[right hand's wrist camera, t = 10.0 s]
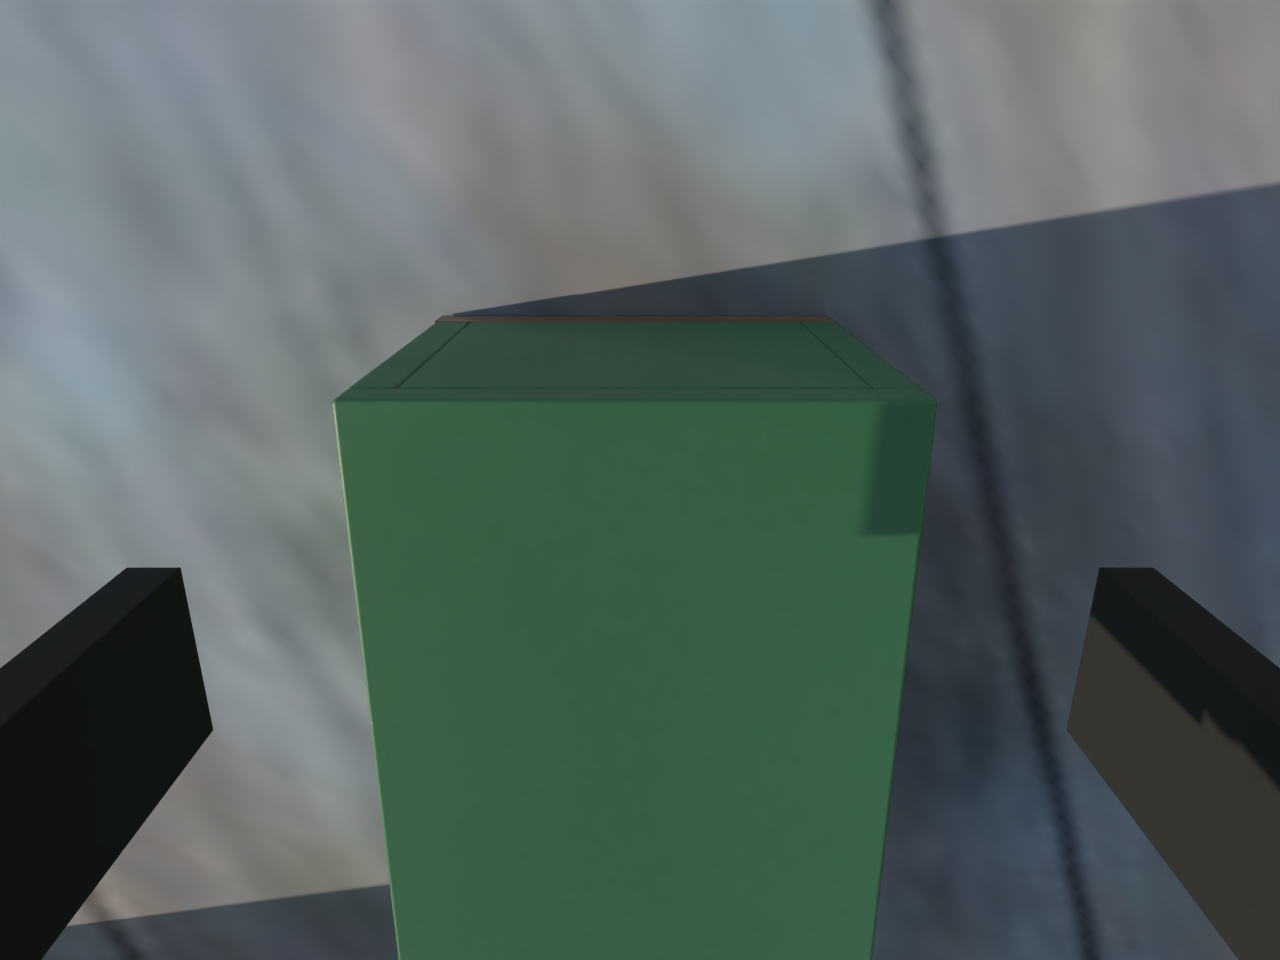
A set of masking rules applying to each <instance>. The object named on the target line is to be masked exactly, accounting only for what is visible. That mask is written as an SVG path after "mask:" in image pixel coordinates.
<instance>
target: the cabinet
mask: <svg viewBox="0 0 1280 960" xmlns="http://www.w3.org/2000/svg"><path fill="white" fill-rule="evenodd" d="M332 407H333V415H334V424H335V432H336V440H337V449H338V457H339V465H340V474H341V482H342V490H343V499H344V507H345V515H346V524H347V532H348V540H349V549H350V557H351V566H352V574H353V582H354V591H355V599H356V607H357V616H358V624H359V632H360V641H361V649H362V657H363V666H364V674H365V682H366V691H367V699H368V707H369V716H370V724H371V733H372V741H373V749H374V758H375V766H376V774H377V783H378V791H379V799H380V808H381V816H382V824H383V833H384V841H385V849H386V858H387V866H388V875H389V883H390V891H391V900H392V908H393V916H394V925H395V933H396V941H397V950H398V958H399V960H872V952H873V943H874V935H875V926H876V918H877V909H878V901H879V892H880V884H881V875H882V867H883V858H884V850H885V841H886V833H887V824H888V816H889V807H890V799H891V790H892V782H893V773H894V765H895V756H896V748H897V739H898V731H899V722H900V714H901V705H902V697H903V688H904V680H905V671H906V663H907V654H908V646H909V637H910V629H911V620H912V612H913V603H914V595H915V586H916V578H917V569H918V561H919V552H920V544H921V535H922V527H923V518H924V510H925V501H926V493H927V484H928V476H929V467H930V459H931V450H932V442H933V433H934V425H935V416H936V408H937V403H936V400H935V399H934V398H932V397H931V396H930V395H928V394H927V393H926V392H924V391H923V390H922V388H921V387H920V386H918V385H917V384H916V383H914V382H913V381H912V380H910V379H909V378H908V377H906V376H905V375H904V374H902V373H901V372H900V371H898V370H897V369H896V368H894V367H893V366H892V365H891V364H889V363H888V362H887V361H885V360H884V359H883V358H881V357H880V356H879V355H877V354H876V353H875V352H873V351H872V350H871V349H869V348H868V347H867V346H865V345H864V344H863V343H861V342H860V341H859V340H857V339H856V338H855V337H853V336H852V335H851V334H849V333H848V332H847V331H846V330H844V329H843V328H842V327H840V326H839V325H838V324H836V321H834V320H833V319H831V318H830V317H829V316H442V317H440V318H439V319H438V320H436V321H435V324H434V325H432V326H431V327H430V328H428V329H427V330H426V331H424V332H423V333H422V334H420V335H419V336H418V337H416V338H415V339H414V340H412V341H411V342H410V343H408V344H407V345H406V346H404V347H403V348H402V349H400V350H399V351H398V352H396V353H395V354H394V355H392V356H391V357H390V358H388V359H387V360H386V361H384V362H383V363H382V364H380V365H379V366H378V367H376V368H375V369H374V370H372V371H371V372H370V373H368V374H367V375H366V376H364V377H363V378H362V379H360V380H359V381H358V382H356V383H355V384H354V385H352V386H351V387H350V388H349V389H348V390H346V391H345V392H343V393H342V394H341V395H339V396H338V397H337V398H335V399H334V400H333V403H332Z"/></svg>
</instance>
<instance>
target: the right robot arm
mask: <svg viewBox="0 0 1280 960" xmlns="http://www.w3.org/2000/svg"><path fill="white" fill-rule="evenodd" d="M212 731H213V727H212V722H211V717H210V712H209V707H208V702H207V697H206V692H205V687H204V682H203V677H202V672H201V667H200V662H199V657H198V652H197V647H196V642H195V637H194V632H193V627H192V622H191V618H190V613H189V608H188V603H187V598H186V593H185V588H184V583H183V578H182V573H181V568H126V569H125V570H123V571H122V572H121V573H120V574H118V575H117V576H116V577H115V578H113V579H112V580H111V581H110V582H108V583H107V584H106V585H105V586H103V587H102V588H101V589H99V590H98V591H97V592H96V593H94V594H93V595H92V596H91V597H89V598H88V599H87V600H86V601H84V602H83V603H82V604H81V605H79V606H78V607H77V608H76V609H74V610H73V611H72V612H71V613H69V614H68V615H67V616H66V617H64V618H63V619H62V620H61V621H59V622H58V623H57V624H56V625H54V626H53V627H52V628H50V629H49V630H48V631H47V632H45V633H44V634H43V635H42V636H40V637H39V638H38V639H37V640H35V641H34V642H33V643H32V644H30V645H29V646H28V647H27V648H25V649H24V650H23V651H22V652H20V653H19V654H18V655H17V656H15V657H14V658H13V659H12V660H10V661H9V662H8V663H7V664H5V665H4V666H3V667H1V668H0V960H41V959H42V958H43V956H44V955H45V954H46V952H47V951H48V950H49V948H50V947H51V946H52V944H53V943H54V942H55V940H56V939H57V938H58V936H59V935H60V934H61V932H62V931H63V930H64V928H65V927H66V926H67V924H68V923H69V922H70V920H71V919H72V918H73V916H74V915H75V914H76V912H77V911H78V910H79V908H80V907H81V906H82V904H83V903H84V902H85V900H86V899H87V898H88V896H89V895H90V894H91V892H92V891H93V890H94V888H95V887H96V886H97V884H98V883H99V882H100V880H101V879H102V878H103V876H104V875H105V874H106V872H107V871H108V870H109V868H110V867H111V866H112V864H113V863H114V862H115V860H116V859H117V858H118V856H119V855H120V854H121V852H122V851H123V850H124V848H125V847H126V846H127V844H128V843H129V842H130V840H131V839H132V838H133V836H134V835H135V834H136V832H137V831H138V830H139V828H140V827H141V826H142V824H143V823H144V822H145V820H146V819H147V818H148V816H149V815H150V813H151V812H152V811H153V809H154V808H155V807H156V805H157V804H158V803H159V801H160V800H161V799H162V797H163V796H164V795H165V793H166V792H167V791H168V789H169V788H170V787H171V785H172V784H173V783H174V781H175V780H176V779H177V777H178V776H179V775H180V773H181V772H182V771H183V769H184V768H185V767H186V765H187V764H188V763H189V761H190V760H191V759H192V757H193V756H194V755H195V753H196V752H197V751H198V749H199V748H200V747H201V745H202V744H203V743H204V741H205V740H206V739H207V737H208V736H209V735H210V733H211V732H212ZM1067 731H1068V732H1069V733H1070V735H1071V736H1072V737H1073V739H1074V740H1075V741H1076V743H1077V744H1078V745H1079V747H1080V748H1081V749H1082V751H1083V752H1084V753H1085V755H1086V756H1087V757H1088V759H1089V760H1090V761H1091V763H1092V764H1093V765H1094V767H1095V768H1096V769H1097V771H1098V772H1099V773H1100V775H1101V776H1102V777H1103V779H1104V780H1105V781H1106V783H1107V784H1108V785H1109V787H1110V788H1111V789H1112V791H1113V792H1114V793H1115V795H1116V796H1117V797H1118V799H1119V800H1120V801H1121V803H1122V804H1123V805H1124V807H1125V808H1126V809H1127V811H1128V812H1129V813H1130V815H1131V816H1132V817H1133V819H1134V820H1135V822H1136V823H1137V824H1138V826H1139V827H1140V828H1141V830H1142V831H1143V832H1144V834H1145V835H1146V836H1147V838H1148V839H1149V840H1150V842H1151V843H1152V844H1153V846H1154V847H1155V848H1156V850H1157V851H1158V852H1159V854H1160V855H1161V856H1162V858H1163V859H1164V860H1165V862H1166V863H1167V864H1168V866H1169V867H1170V868H1171V870H1172V871H1173V872H1174V874H1175V875H1176V876H1177V878H1178V879H1179V880H1180V882H1181V883H1182V884H1183V886H1184V887H1185V888H1186V890H1187V891H1188V892H1189V894H1190V895H1191V896H1192V898H1193V899H1194V900H1195V902H1196V903H1197V904H1198V906H1199V907H1200V908H1201V910H1202V911H1203V912H1204V914H1205V915H1206V916H1207V918H1208V919H1209V920H1210V922H1211V923H1212V924H1213V926H1214V927H1215V928H1216V930H1217V931H1218V932H1219V934H1220V935H1221V936H1222V938H1223V939H1224V940H1225V942H1226V943H1227V944H1228V946H1229V947H1230V948H1231V950H1232V951H1233V952H1234V954H1235V955H1236V956H1237V958H1238V959H1239V960H1280V668H1279V667H1277V666H1276V665H1275V664H1273V663H1272V662H1271V661H1270V660H1268V659H1267V658H1266V657H1265V656H1263V655H1262V654H1261V653H1260V652H1258V651H1257V650H1256V649H1255V648H1253V647H1252V646H1251V645H1250V644H1248V643H1247V642H1246V641H1245V640H1243V639H1242V638H1241V637H1240V636H1238V635H1237V634H1236V633H1235V632H1233V631H1232V630H1231V629H1230V628H1228V627H1227V626H1226V625H1224V624H1223V623H1222V622H1221V621H1219V620H1218V619H1217V618H1216V617H1214V616H1213V615H1212V614H1211V613H1209V612H1208V611H1207V610H1206V609H1204V608H1203V607H1202V606H1201V605H1199V604H1198V603H1197V602H1196V601H1194V600H1193V599H1192V598H1191V597H1189V596H1188V595H1187V594H1186V593H1184V592H1183V591H1182V590H1181V589H1179V588H1178V587H1177V586H1175V585H1174V584H1173V583H1172V582H1170V581H1169V580H1168V579H1167V578H1165V577H1164V576H1163V575H1162V574H1160V573H1159V572H1158V571H1157V570H1155V569H1154V568H1099V573H1098V578H1097V583H1096V588H1095V593H1094V598H1093V603H1092V608H1091V613H1090V618H1089V622H1088V627H1087V632H1086V637H1085V642H1084V647H1083V652H1082V657H1081V662H1080V667H1079V672H1078V677H1077V682H1076V687H1075V692H1074V697H1073V702H1072V707H1071V712H1070V717H1069V722H1068V727H1067Z"/></svg>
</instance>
